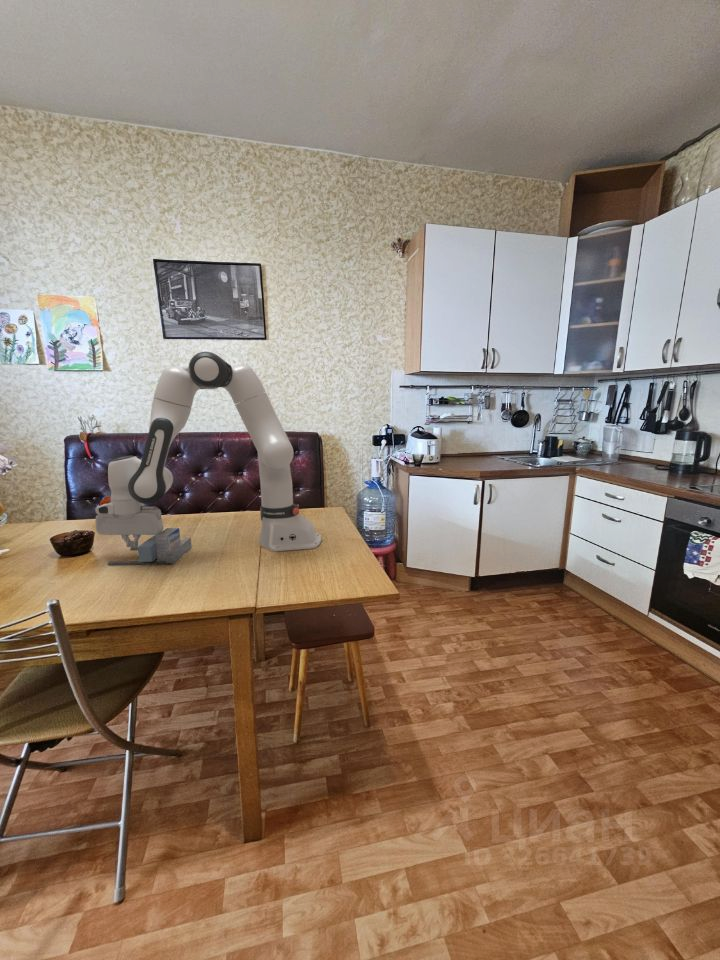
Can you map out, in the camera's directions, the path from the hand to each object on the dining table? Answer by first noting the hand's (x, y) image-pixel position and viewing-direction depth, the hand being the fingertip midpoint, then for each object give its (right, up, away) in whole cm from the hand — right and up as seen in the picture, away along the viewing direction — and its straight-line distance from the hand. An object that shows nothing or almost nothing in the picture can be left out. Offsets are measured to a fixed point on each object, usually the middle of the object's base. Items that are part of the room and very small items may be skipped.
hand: (132, 546), depth 128 cm
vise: (+6, -3, +1) cm, 7 cm away
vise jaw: (+8, -2, +1) cm, 8 cm away
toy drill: (-17, +1, +24) cm, 30 cm away
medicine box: (+12, -4, +1) cm, 12 cm away
